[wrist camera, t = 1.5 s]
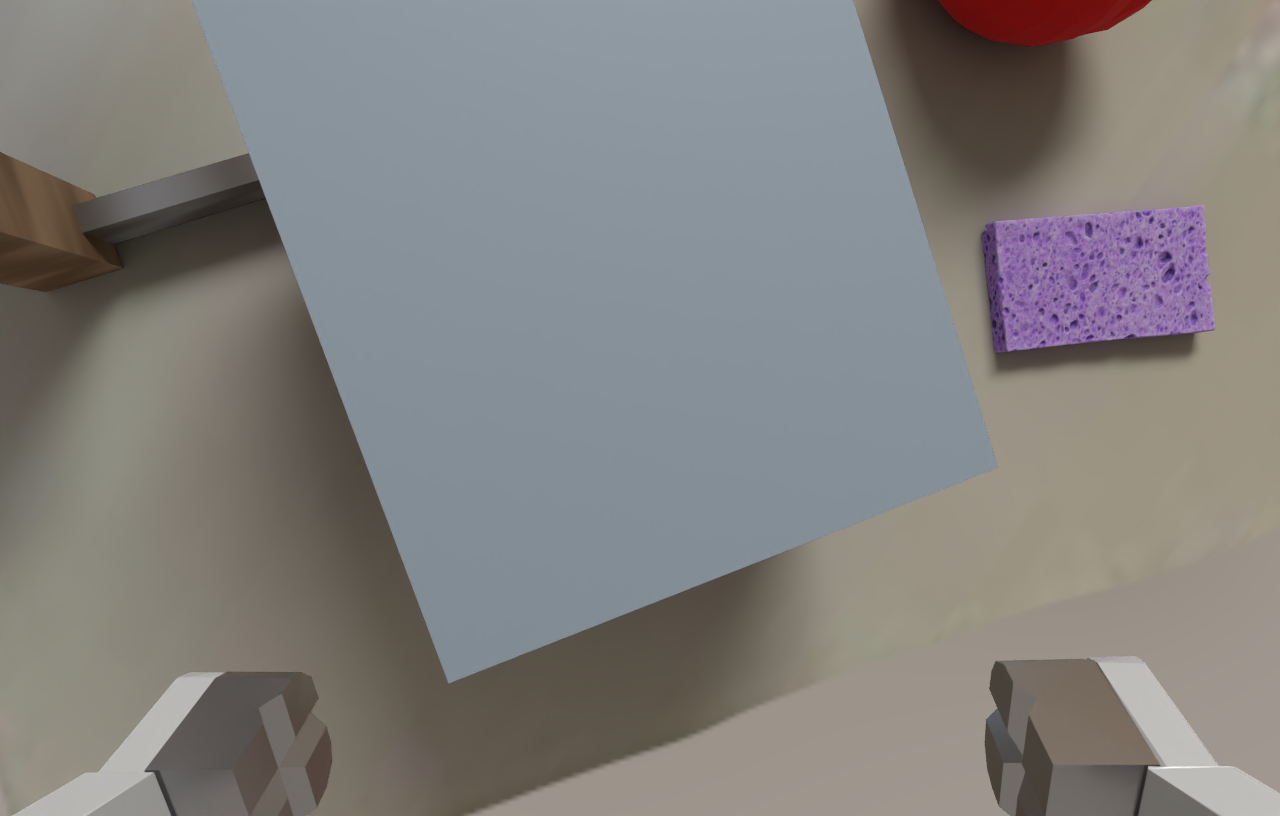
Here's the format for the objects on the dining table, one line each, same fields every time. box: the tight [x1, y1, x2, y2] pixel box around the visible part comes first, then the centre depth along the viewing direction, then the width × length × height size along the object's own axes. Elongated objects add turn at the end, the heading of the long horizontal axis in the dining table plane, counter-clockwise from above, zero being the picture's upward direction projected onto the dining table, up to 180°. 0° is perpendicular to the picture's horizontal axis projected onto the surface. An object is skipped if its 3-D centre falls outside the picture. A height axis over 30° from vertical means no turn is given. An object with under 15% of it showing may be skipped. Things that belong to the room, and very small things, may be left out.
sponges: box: [982, 205, 1215, 353], centre depth 47 cm, size 7×13×2 cm, turn 96°
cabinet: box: [192, 0, 998, 683], centre depth 34 cm, size 18×22×18 cm
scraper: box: [0, 152, 266, 292], centre depth 33 cm, size 16×4×14 cm, turn 109°
